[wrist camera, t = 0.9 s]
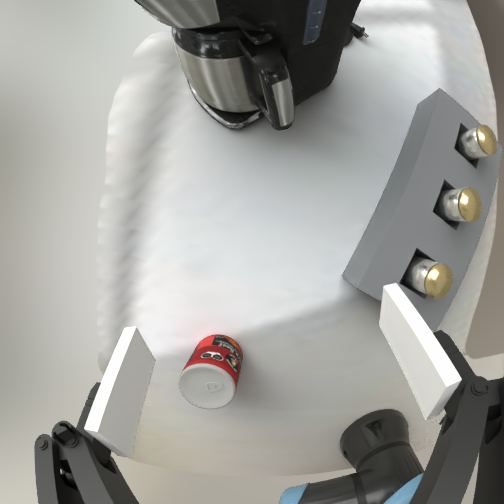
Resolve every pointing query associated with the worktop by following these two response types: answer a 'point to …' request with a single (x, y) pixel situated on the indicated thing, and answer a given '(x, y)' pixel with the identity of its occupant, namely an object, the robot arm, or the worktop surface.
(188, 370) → the canned food
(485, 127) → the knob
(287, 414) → the worktop surface
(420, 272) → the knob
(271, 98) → the coffee maker
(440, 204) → the knob middle
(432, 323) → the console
